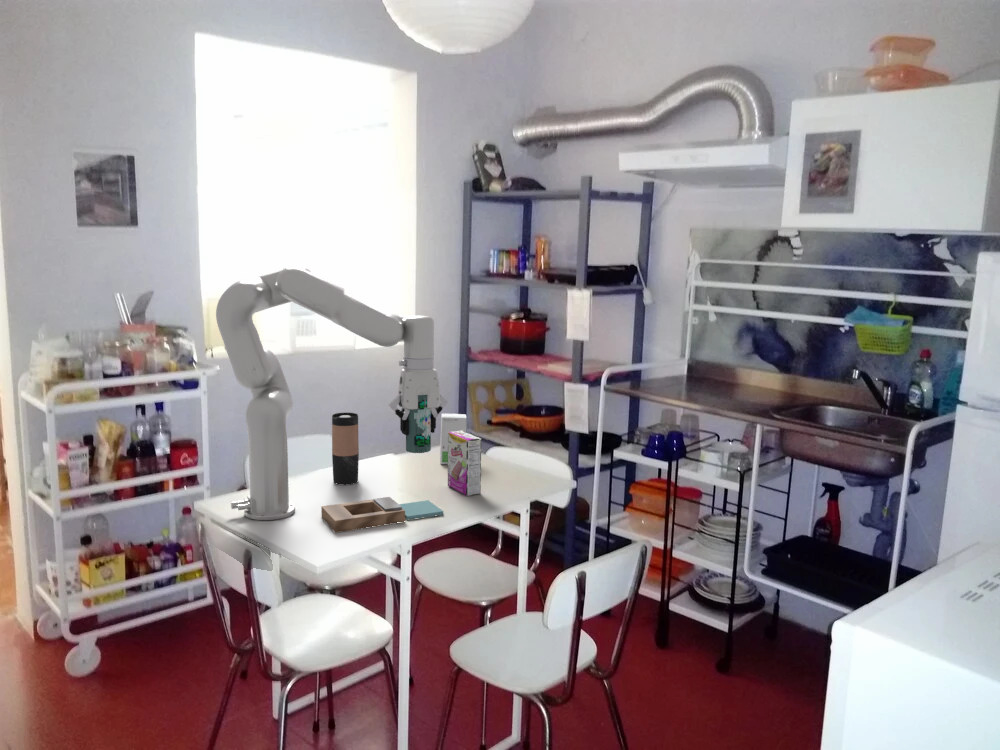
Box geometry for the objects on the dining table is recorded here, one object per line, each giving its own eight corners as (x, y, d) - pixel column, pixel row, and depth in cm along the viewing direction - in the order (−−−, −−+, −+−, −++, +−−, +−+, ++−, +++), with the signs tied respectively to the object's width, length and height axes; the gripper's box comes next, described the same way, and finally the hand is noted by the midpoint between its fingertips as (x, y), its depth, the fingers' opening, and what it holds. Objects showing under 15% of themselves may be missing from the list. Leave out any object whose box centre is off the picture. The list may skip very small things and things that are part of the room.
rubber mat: (407, 520, 200) (407, 516, 199) (393, 508, 208) (393, 505, 208) (443, 514, 204) (443, 511, 204) (428, 503, 213) (428, 500, 213)
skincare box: (440, 464, 252) (440, 417, 250) (439, 459, 258) (440, 413, 256) (466, 464, 253) (466, 417, 250) (465, 459, 259) (466, 413, 257)
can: (422, 454, 200) (422, 396, 197) (402, 451, 202) (401, 394, 200) (434, 448, 205) (434, 392, 203) (414, 446, 208) (414, 390, 205)
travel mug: (361, 478, 235) (360, 412, 232) (356, 485, 228) (355, 418, 225) (335, 477, 235) (335, 412, 232) (329, 484, 228) (328, 417, 225)
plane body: (335, 532, 190) (335, 518, 189) (321, 517, 200) (321, 503, 200) (405, 522, 198) (405, 508, 198) (388, 508, 209) (388, 495, 208)
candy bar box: (446, 486, 229) (447, 431, 226) (461, 484, 232) (461, 429, 229) (466, 497, 220) (467, 439, 217) (481, 494, 222) (482, 437, 220)
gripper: (391, 368, 193) (391, 439, 196) (455, 364, 201) (454, 433, 204) (381, 363, 199) (381, 432, 202) (443, 360, 208) (442, 427, 210)
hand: (418, 432), depth 203 cm, fingers closed on can, 6 cm apart
